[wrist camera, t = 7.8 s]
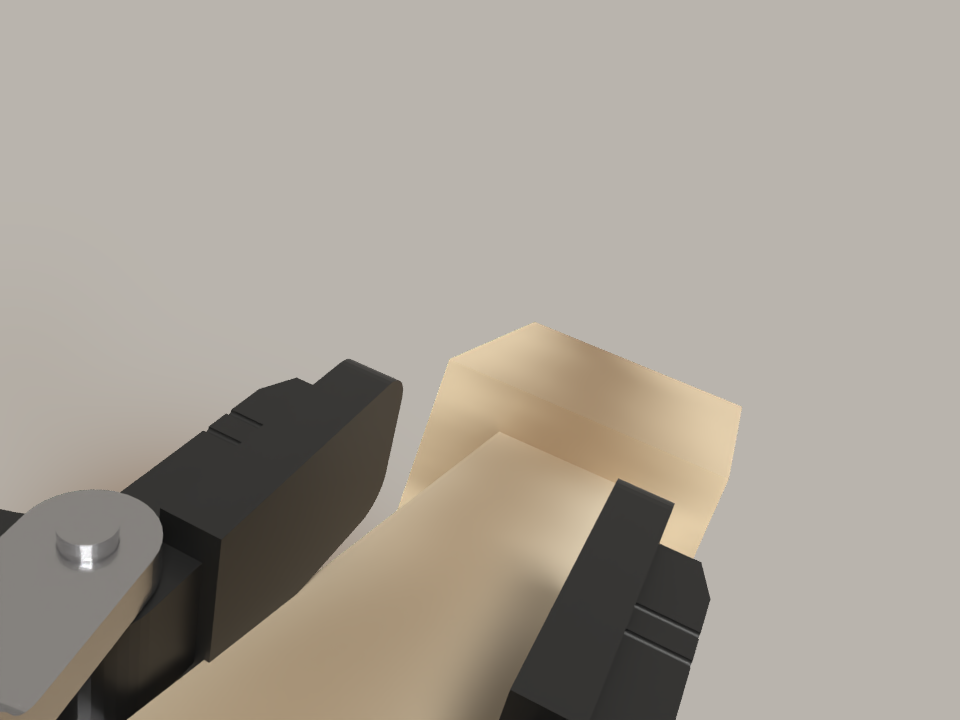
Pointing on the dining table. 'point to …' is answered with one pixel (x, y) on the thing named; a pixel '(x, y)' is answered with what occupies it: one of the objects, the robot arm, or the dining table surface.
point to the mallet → (474, 540)
